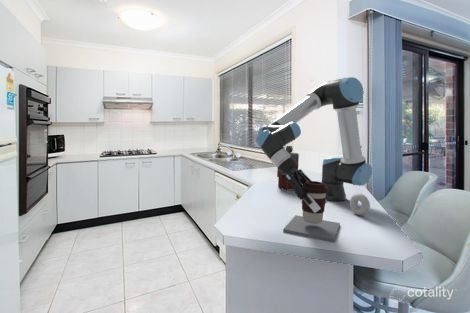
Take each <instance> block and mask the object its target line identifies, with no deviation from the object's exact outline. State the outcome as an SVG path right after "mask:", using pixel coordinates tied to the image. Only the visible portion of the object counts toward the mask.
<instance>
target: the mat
mask: <svg viewBox="0 0 470 313" xmlns="http://www.w3.org/2000/svg"><path fill="white" fill-rule="evenodd" d="M340 226H341V223H340V222H336V221H331V220H330V221H329V220H324V219H322V222H321V223H317V224H313V223H308V222H306V221H304V220H303V215H302V216H301V215H295V216H293V218H291V220H290V221H289V222H288V223H287V224H286V225H285V226H284V228H283V230H282V231H283V233H288V234H293V235H298V236H303V237H307V238H312V239H317V240H322V241H327V242H330V243H335V242H336V239H337V235H338V232H339V228H340Z"/></svg>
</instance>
